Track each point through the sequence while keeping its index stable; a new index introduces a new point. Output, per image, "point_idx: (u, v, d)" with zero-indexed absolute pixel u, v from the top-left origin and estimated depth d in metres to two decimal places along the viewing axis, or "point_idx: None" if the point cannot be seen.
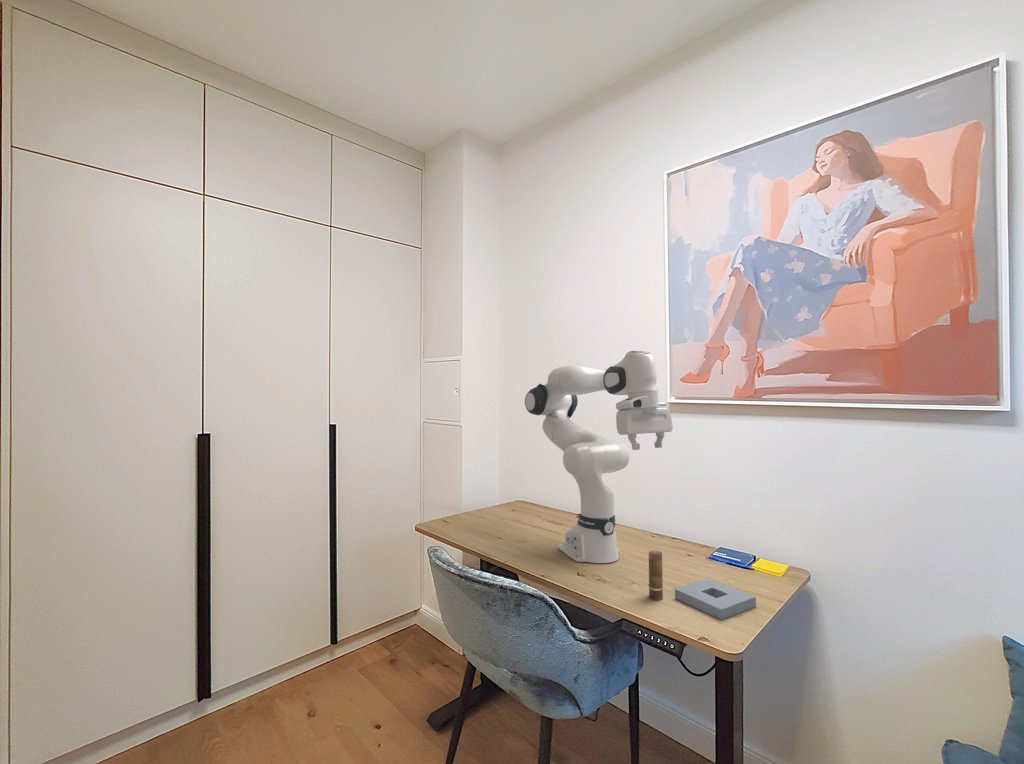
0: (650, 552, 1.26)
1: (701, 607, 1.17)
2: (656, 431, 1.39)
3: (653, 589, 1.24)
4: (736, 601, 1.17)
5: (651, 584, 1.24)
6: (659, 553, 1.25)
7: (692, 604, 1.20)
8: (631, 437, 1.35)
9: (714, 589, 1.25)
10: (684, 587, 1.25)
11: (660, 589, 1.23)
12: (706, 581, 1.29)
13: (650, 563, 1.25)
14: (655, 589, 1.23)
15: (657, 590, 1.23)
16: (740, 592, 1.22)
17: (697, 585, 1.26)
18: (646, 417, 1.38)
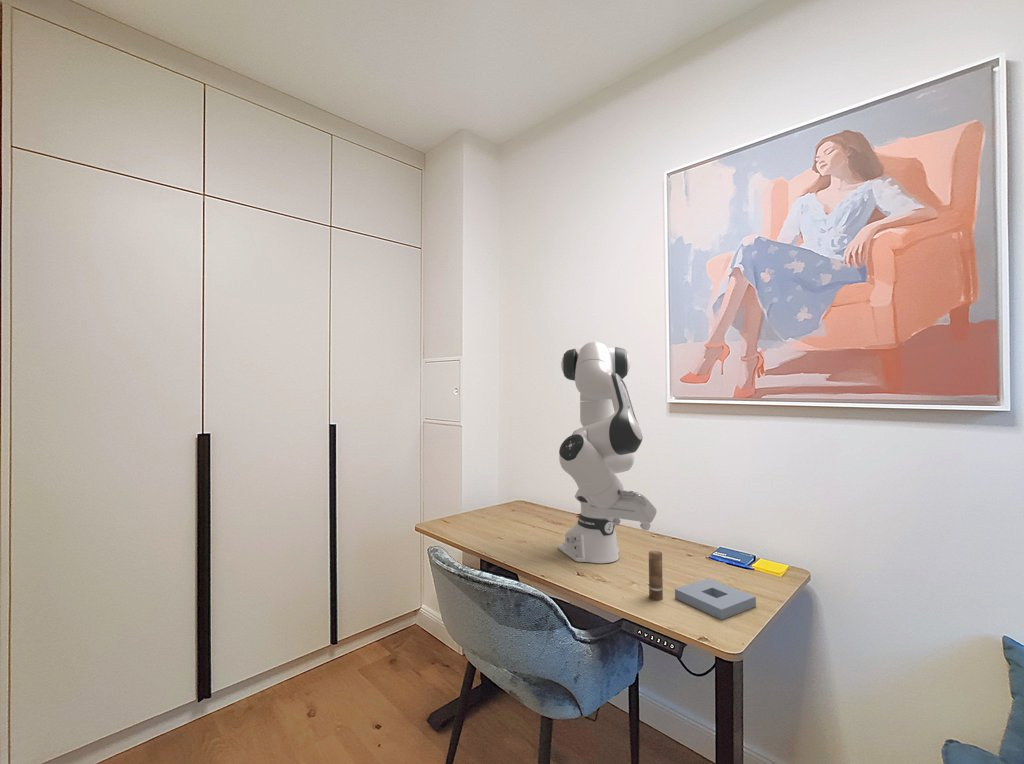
0: (650, 552, 1.26)
1: (701, 607, 1.17)
2: (627, 519, 1.15)
3: (653, 589, 1.24)
4: (736, 601, 1.17)
5: (651, 584, 1.24)
6: (659, 553, 1.25)
7: (692, 604, 1.20)
8: None
9: (714, 589, 1.25)
10: (684, 587, 1.25)
11: (660, 589, 1.23)
12: (706, 581, 1.29)
13: (650, 563, 1.25)
14: (655, 589, 1.23)
15: (657, 590, 1.23)
16: (740, 592, 1.22)
17: (697, 585, 1.26)
18: None
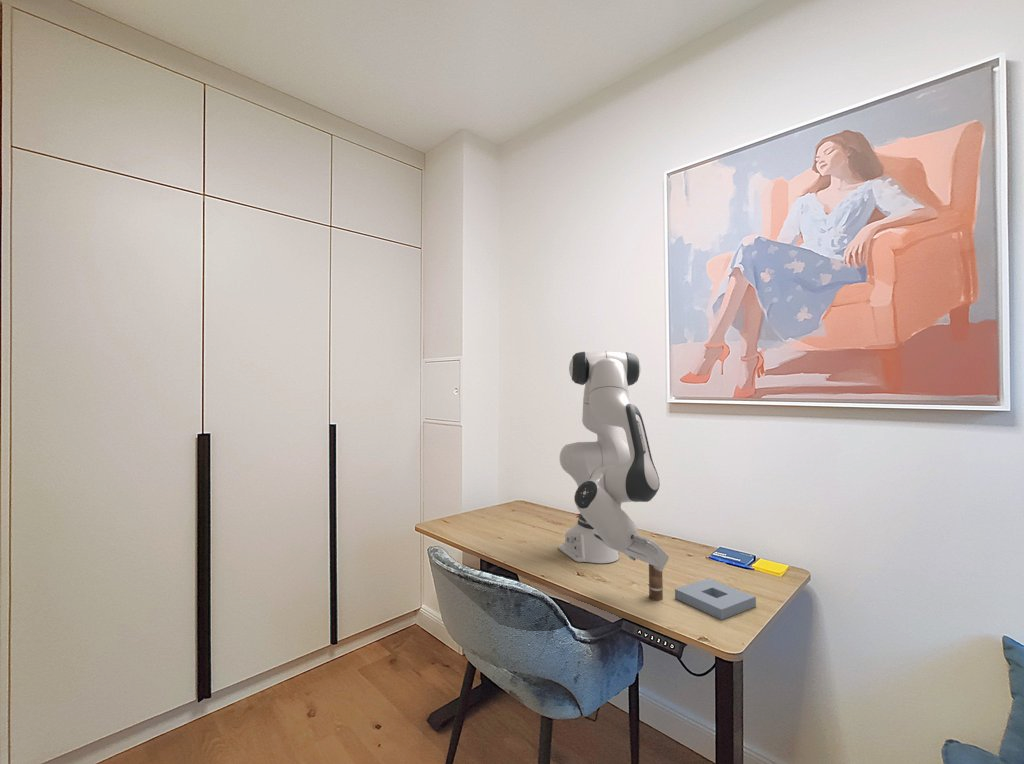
0: None
1: (701, 607, 1.17)
2: (641, 560, 1.19)
3: (653, 589, 1.24)
4: (736, 601, 1.17)
5: (651, 584, 1.24)
6: None
7: (692, 604, 1.20)
8: None
9: (714, 589, 1.25)
10: (684, 587, 1.25)
11: (660, 589, 1.23)
12: (706, 581, 1.29)
13: None
14: (655, 589, 1.23)
15: (657, 590, 1.23)
16: (740, 592, 1.22)
17: (697, 585, 1.26)
18: None
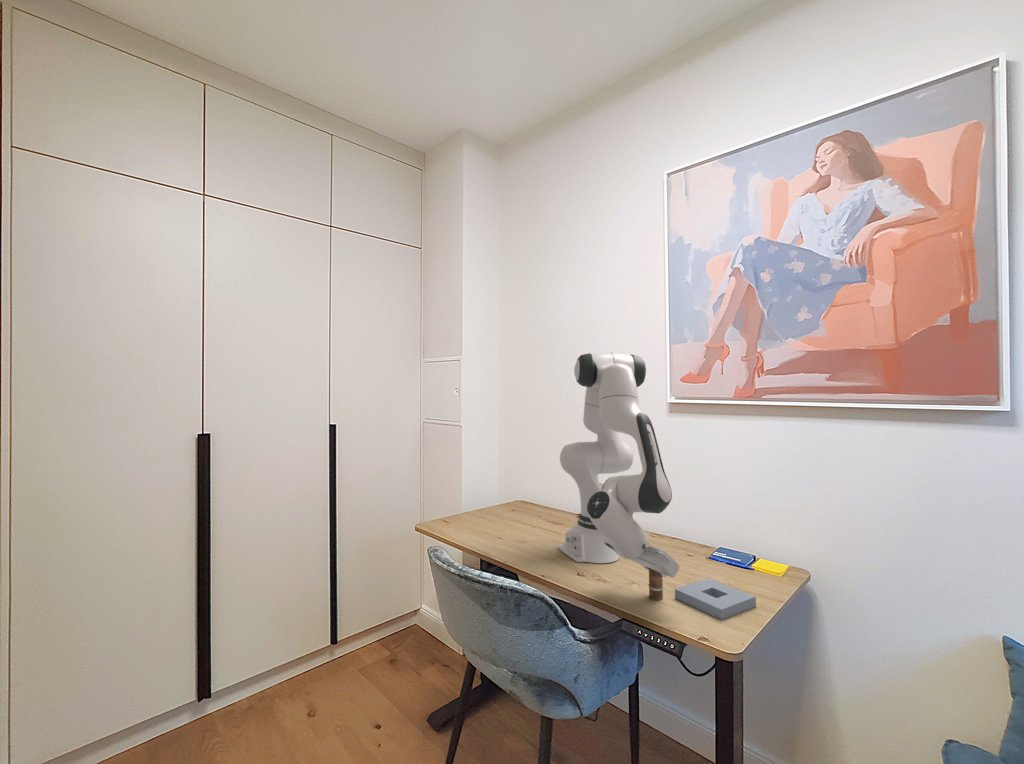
0: None
1: (701, 607, 1.17)
2: None
3: (653, 589, 1.24)
4: (736, 601, 1.17)
5: (651, 584, 1.24)
6: None
7: (692, 604, 1.20)
8: None
9: (714, 589, 1.25)
10: (684, 587, 1.25)
11: (660, 589, 1.23)
12: (706, 581, 1.29)
13: None
14: (655, 589, 1.23)
15: (657, 590, 1.23)
16: (740, 592, 1.22)
17: (697, 585, 1.26)
18: None
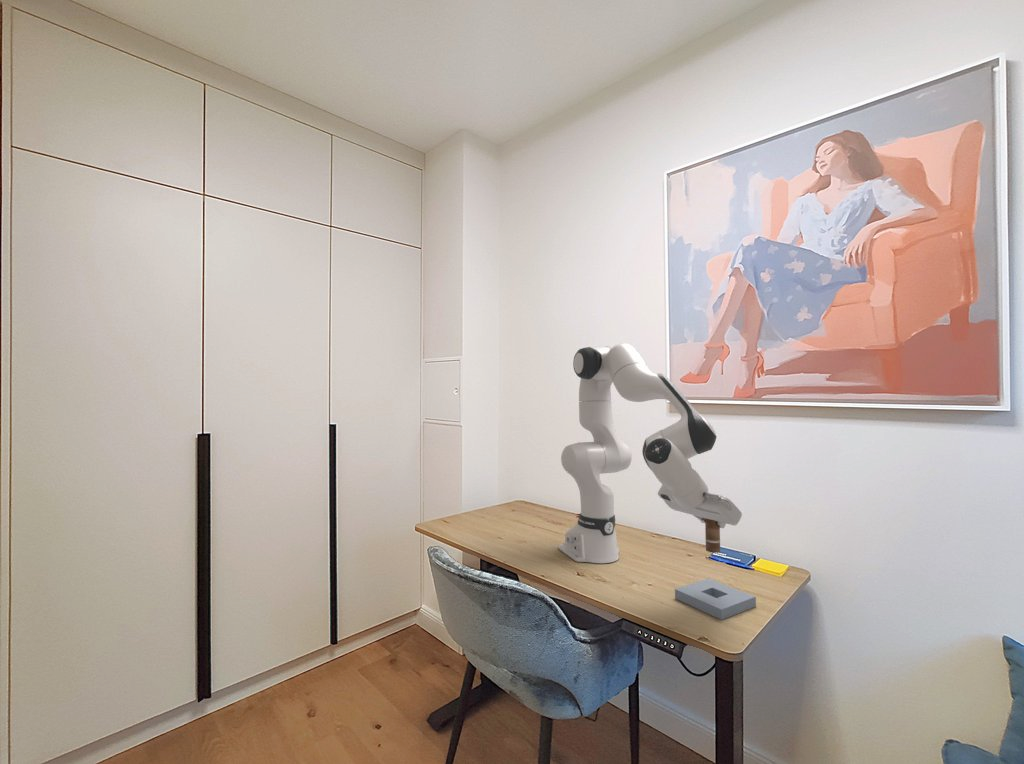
0: None
1: (701, 607, 1.17)
2: (710, 519, 1.18)
3: (711, 541, 1.21)
4: (736, 601, 1.17)
5: (708, 536, 1.21)
6: None
7: (692, 604, 1.20)
8: None
9: (714, 589, 1.25)
10: (684, 587, 1.25)
11: (718, 541, 1.21)
12: (706, 581, 1.29)
13: None
14: (713, 541, 1.21)
15: (715, 542, 1.20)
16: (740, 592, 1.22)
17: (697, 585, 1.26)
18: None
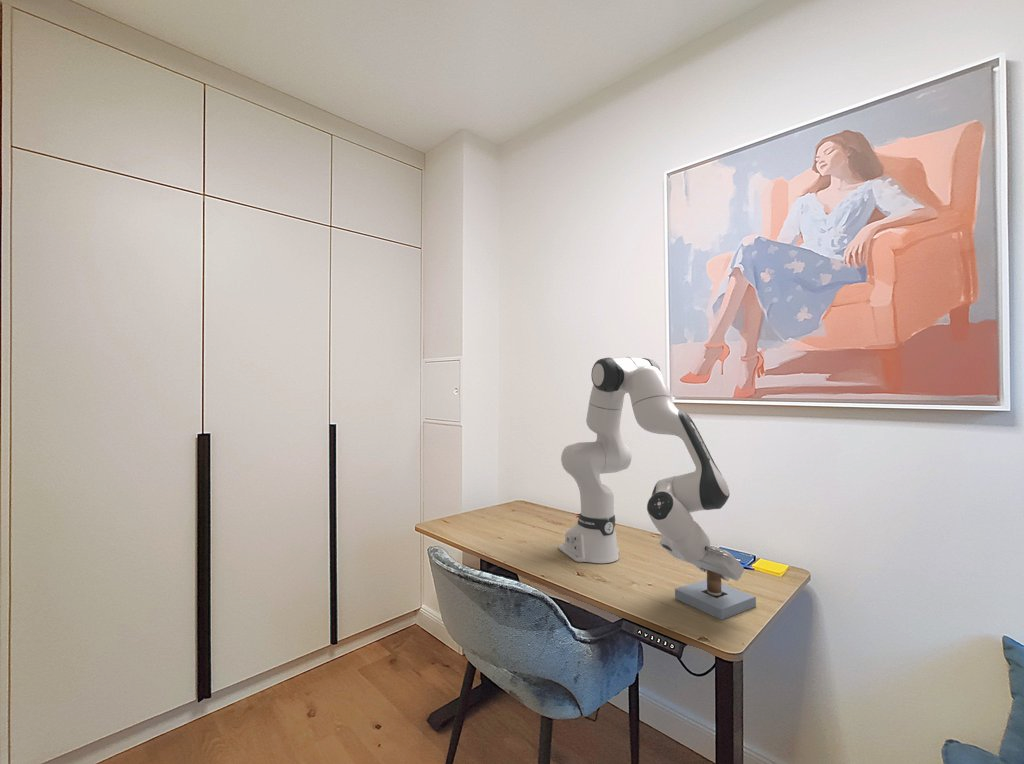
0: None
1: (701, 607, 1.17)
2: (712, 571, 1.18)
3: (712, 594, 1.21)
4: (736, 601, 1.17)
5: (710, 589, 1.21)
6: None
7: (692, 604, 1.20)
8: None
9: None
10: (684, 587, 1.25)
11: (719, 594, 1.20)
12: (706, 581, 1.29)
13: None
14: (714, 594, 1.20)
15: (717, 595, 1.20)
16: (740, 592, 1.22)
17: (697, 585, 1.26)
18: None
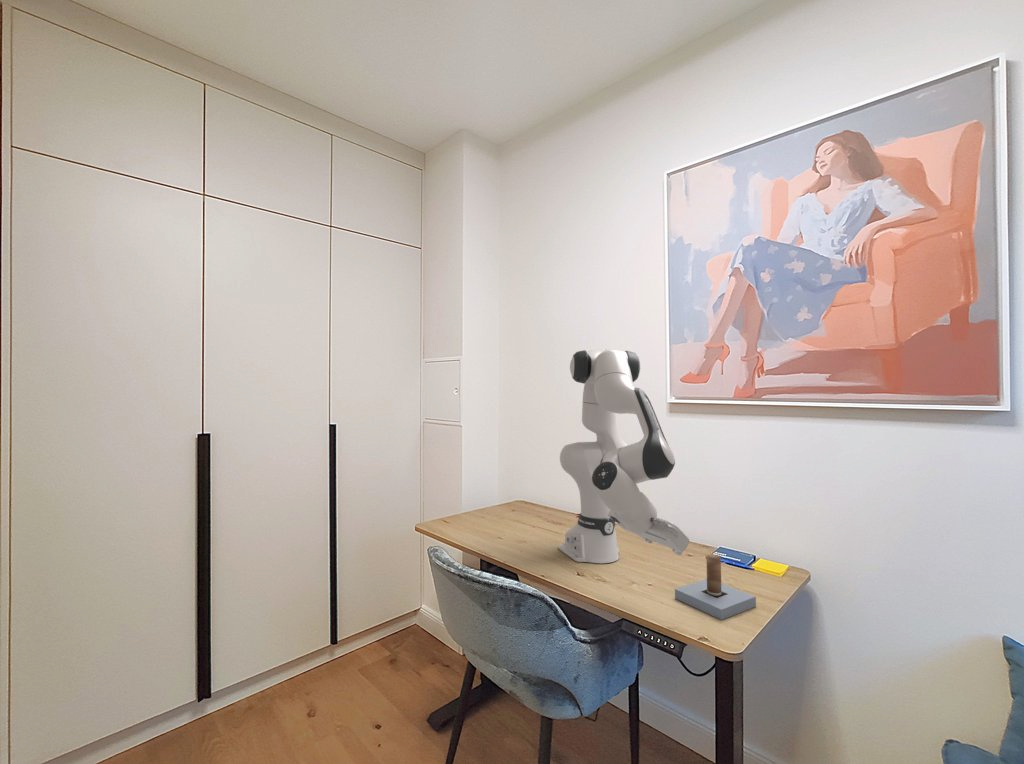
0: (708, 556, 1.22)
1: (701, 607, 1.17)
2: (659, 543, 1.15)
3: (712, 594, 1.21)
4: (736, 601, 1.17)
5: (710, 589, 1.21)
6: (718, 557, 1.22)
7: (692, 604, 1.20)
8: None
9: None
10: (684, 587, 1.25)
11: (719, 594, 1.20)
12: (706, 581, 1.29)
13: (708, 567, 1.21)
14: (714, 594, 1.20)
15: (717, 595, 1.20)
16: (740, 592, 1.22)
17: (697, 585, 1.26)
18: None
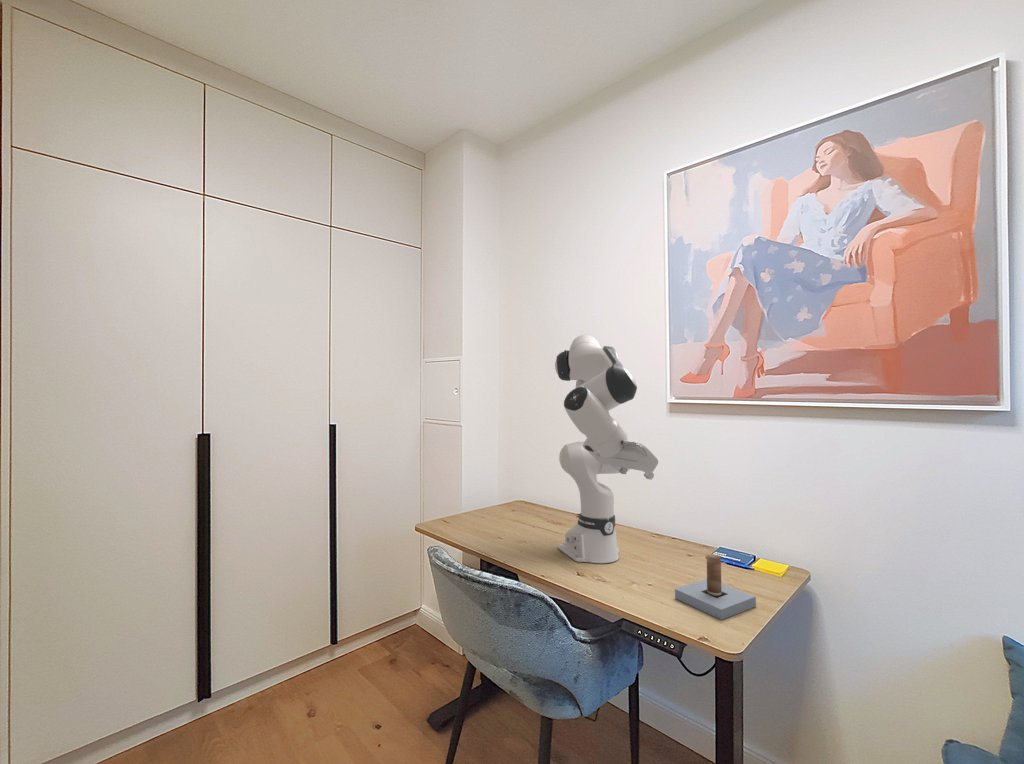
0: (708, 556, 1.22)
1: (701, 607, 1.17)
2: (631, 468, 1.19)
3: (712, 594, 1.21)
4: (736, 601, 1.17)
5: (710, 588, 1.21)
6: (718, 557, 1.22)
7: (692, 604, 1.20)
8: None
9: None
10: (684, 587, 1.25)
11: (719, 594, 1.20)
12: (706, 581, 1.29)
13: (709, 567, 1.22)
14: (714, 594, 1.20)
15: (717, 595, 1.20)
16: (740, 592, 1.22)
17: (697, 585, 1.26)
18: None
